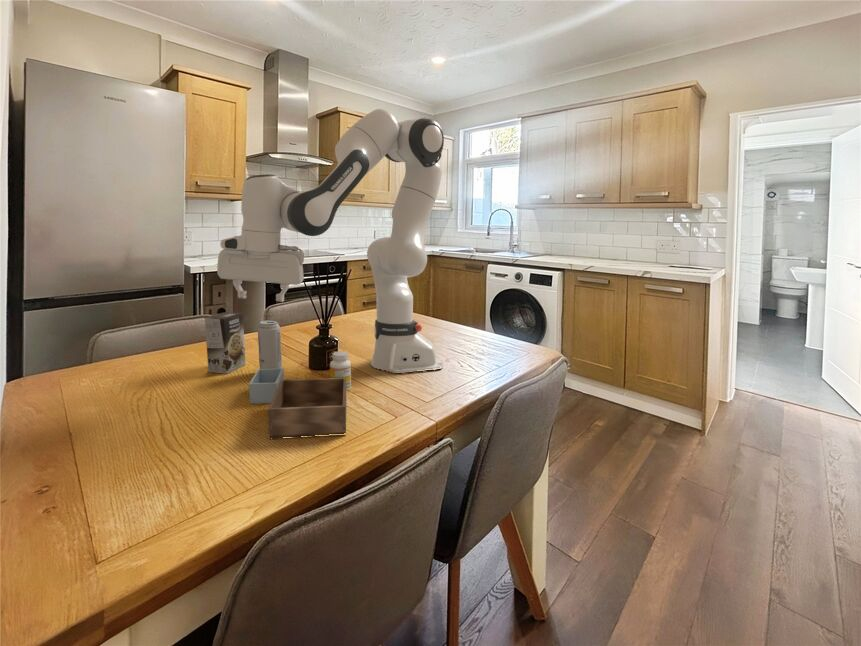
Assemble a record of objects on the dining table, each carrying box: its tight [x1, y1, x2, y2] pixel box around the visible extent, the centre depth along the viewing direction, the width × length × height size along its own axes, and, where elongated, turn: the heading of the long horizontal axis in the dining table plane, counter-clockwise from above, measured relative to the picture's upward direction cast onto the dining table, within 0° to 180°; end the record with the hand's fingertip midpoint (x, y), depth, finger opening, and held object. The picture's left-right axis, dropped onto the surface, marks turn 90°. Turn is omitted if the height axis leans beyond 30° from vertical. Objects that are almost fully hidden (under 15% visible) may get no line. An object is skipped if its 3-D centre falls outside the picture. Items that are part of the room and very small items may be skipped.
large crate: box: [267, 377, 347, 440], centre depth 100 cm, size 15×17×6 cm
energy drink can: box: [257, 319, 283, 369], centre depth 128 cm, size 6×6×15 cm
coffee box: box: [204, 311, 246, 375], centre depth 131 cm, size 9×6×16 cm
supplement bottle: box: [329, 350, 352, 391], centre depth 119 cm, size 5×5×10 cm
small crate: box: [248, 368, 285, 405], centre depth 113 cm, size 6×11×5 cm, turn 10°
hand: (261, 299), depth 112 cm, fingers open, 8 cm apart
